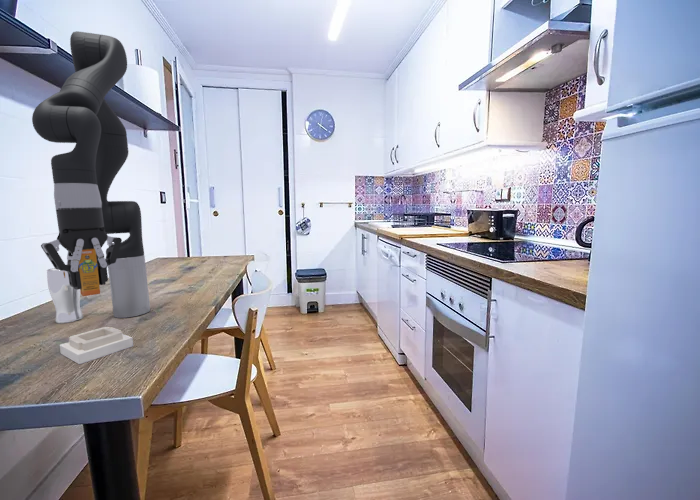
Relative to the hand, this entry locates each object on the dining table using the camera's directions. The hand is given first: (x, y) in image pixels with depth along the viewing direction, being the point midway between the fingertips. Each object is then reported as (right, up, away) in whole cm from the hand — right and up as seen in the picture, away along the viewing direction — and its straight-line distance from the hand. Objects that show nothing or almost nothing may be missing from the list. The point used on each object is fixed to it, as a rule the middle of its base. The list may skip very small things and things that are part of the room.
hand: (89, 286), depth 71 cm
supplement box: (0, -2, 0) cm, 2 cm away
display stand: (0, -14, +2) cm, 14 cm away
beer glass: (-24, -12, +23) cm, 35 cm away
